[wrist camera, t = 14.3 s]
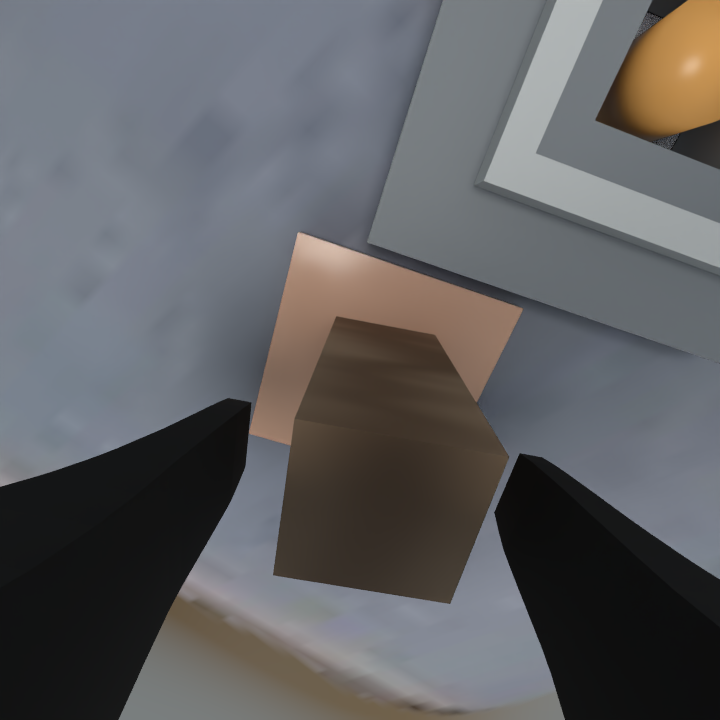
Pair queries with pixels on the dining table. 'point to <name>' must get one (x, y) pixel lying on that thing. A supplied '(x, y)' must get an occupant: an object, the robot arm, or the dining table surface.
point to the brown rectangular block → (386, 467)
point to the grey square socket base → (555, 173)
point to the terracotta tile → (375, 305)
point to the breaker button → (669, 76)
